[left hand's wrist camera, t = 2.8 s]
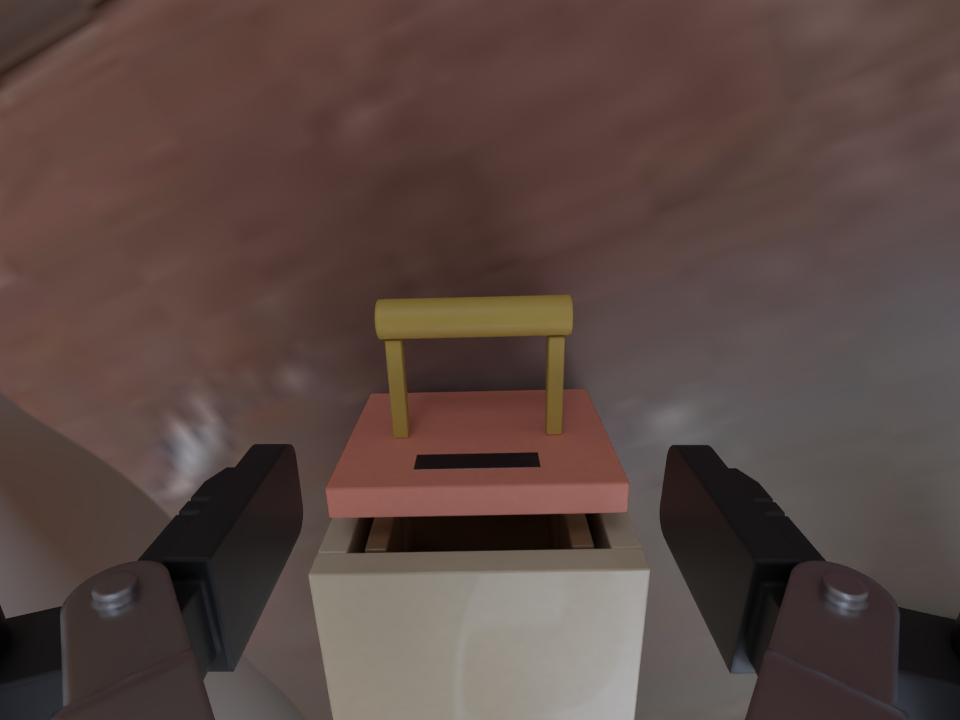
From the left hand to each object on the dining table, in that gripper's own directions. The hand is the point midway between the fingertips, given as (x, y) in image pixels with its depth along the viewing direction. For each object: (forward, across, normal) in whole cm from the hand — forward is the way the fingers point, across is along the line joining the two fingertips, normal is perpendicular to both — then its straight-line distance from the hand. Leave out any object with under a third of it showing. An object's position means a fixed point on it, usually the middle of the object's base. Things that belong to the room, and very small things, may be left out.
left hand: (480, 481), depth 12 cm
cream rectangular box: (+14, 0, +15) cm, 20 cm away
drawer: (+13, 0, +9) cm, 16 cm away
